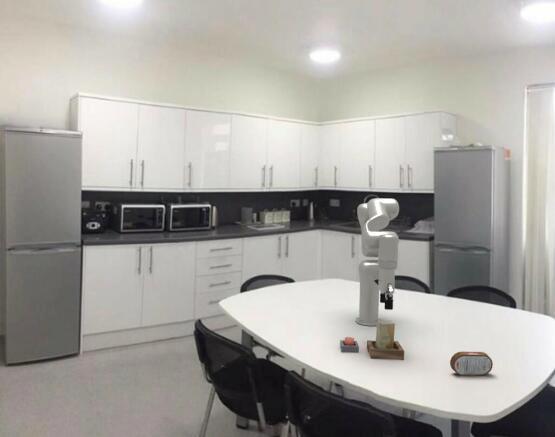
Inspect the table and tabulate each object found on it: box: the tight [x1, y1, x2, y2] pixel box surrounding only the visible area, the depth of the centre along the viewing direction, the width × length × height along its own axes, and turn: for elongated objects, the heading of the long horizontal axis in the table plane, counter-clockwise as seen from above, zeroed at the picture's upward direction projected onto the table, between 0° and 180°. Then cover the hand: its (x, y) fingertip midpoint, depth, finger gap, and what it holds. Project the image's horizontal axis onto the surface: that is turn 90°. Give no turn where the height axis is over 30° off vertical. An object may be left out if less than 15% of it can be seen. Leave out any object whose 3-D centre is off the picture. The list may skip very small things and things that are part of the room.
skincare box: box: [375, 320, 396, 349], centre depth 183 cm, size 6×4×12 cm
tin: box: [449, 351, 494, 377], centre depth 164 cm, size 15×3×8 cm, turn 92°
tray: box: [366, 339, 405, 360], centre depth 184 cm, size 11×13×4 cm
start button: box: [344, 336, 355, 346], centre depth 188 cm, size 4×4×3 cm
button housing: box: [339, 339, 360, 354], centre depth 188 cm, size 7×7×2 cm
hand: (386, 306), depth 182 cm, fingers open, 9 cm apart
